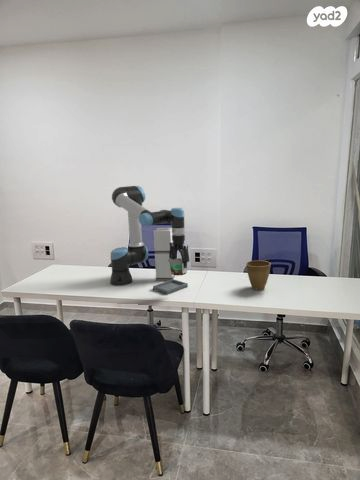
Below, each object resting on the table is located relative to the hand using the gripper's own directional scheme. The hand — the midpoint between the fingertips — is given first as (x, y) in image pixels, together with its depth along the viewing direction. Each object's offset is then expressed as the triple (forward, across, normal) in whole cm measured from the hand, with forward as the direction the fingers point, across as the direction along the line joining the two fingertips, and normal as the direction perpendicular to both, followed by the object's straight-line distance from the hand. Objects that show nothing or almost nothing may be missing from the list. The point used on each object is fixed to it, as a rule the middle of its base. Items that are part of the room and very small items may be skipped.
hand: (179, 271), depth 206 cm
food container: (+2, 0, 0) cm, 2 cm away
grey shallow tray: (+15, -12, +3) cm, 19 cm away
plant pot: (+14, +30, +39) cm, 51 cm away
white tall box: (+15, -30, +15) cm, 37 cm away
